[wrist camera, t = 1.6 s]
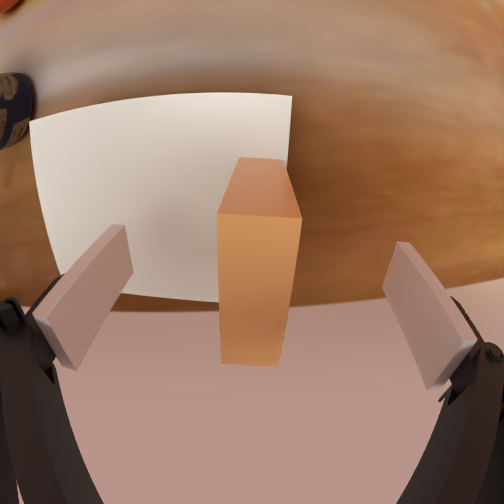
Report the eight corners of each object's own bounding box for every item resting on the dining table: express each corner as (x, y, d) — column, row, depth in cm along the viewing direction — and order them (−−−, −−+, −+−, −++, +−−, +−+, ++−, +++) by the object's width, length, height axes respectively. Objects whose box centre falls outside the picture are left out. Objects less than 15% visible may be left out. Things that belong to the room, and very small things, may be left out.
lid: (77, 268, 23) (15, 351, 14) (50, 116, 16) (-58, 153, 6) (271, 284, 23) (274, 405, 14) (287, 96, 16) (324, 89, 6)
